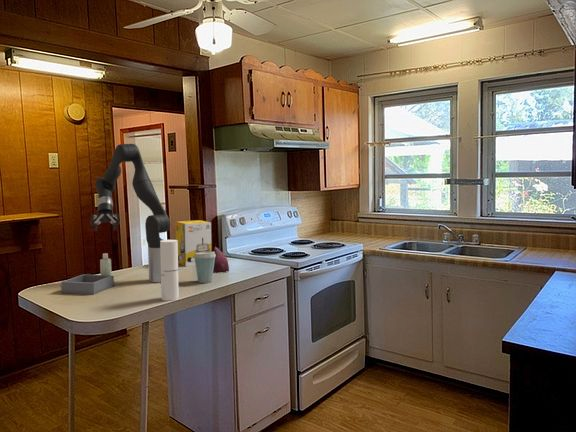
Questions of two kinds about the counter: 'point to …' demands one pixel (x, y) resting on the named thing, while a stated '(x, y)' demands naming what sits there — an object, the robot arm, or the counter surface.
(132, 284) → the counter surface
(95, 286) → the bin
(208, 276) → the disposable coffee cup
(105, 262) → the cruet
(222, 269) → the vegetable
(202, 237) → the packaging box
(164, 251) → the cylindrical container
